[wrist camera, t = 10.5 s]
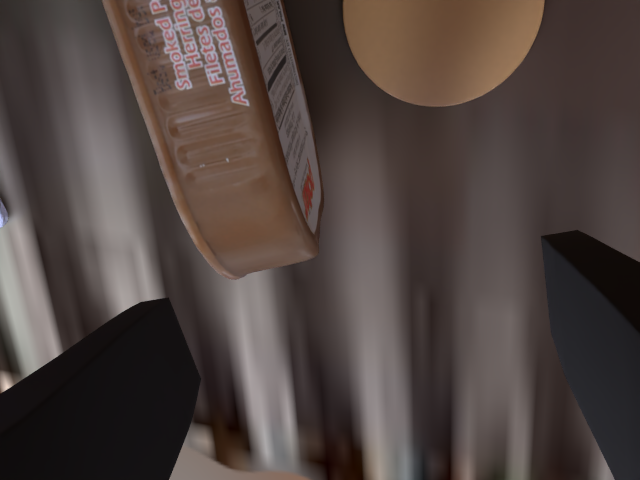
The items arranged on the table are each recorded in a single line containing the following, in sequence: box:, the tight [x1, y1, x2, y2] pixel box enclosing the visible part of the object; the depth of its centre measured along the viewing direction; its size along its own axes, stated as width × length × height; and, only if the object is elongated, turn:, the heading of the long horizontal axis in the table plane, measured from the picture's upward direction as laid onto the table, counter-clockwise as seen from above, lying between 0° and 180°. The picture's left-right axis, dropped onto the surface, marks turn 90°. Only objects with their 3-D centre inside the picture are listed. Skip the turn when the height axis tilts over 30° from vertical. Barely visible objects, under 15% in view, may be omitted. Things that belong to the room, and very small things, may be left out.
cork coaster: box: [343, 0, 545, 107], centre depth 19 cm, size 6×6×1 cm
